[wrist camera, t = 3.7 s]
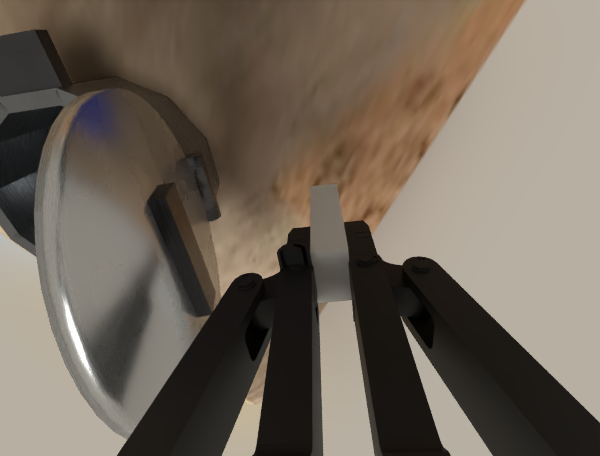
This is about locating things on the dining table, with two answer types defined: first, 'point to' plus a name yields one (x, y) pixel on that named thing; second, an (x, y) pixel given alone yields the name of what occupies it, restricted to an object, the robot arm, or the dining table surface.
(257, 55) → the dining table surface
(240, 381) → the robot arm
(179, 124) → the pot
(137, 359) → the lid
